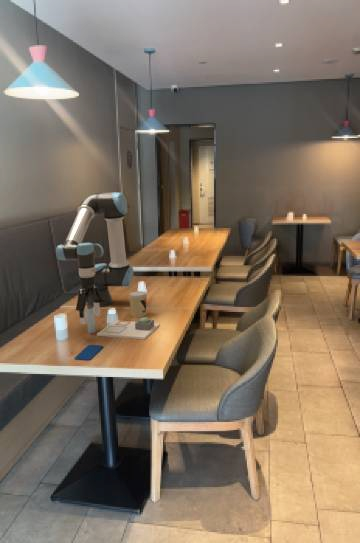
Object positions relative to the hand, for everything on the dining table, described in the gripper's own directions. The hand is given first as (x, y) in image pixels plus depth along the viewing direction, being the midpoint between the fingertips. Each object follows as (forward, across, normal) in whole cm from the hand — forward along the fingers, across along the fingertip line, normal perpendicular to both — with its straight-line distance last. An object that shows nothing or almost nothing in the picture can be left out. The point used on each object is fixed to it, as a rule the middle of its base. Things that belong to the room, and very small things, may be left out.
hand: (90, 319), depth 214 cm
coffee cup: (+6, +30, -12) cm, 33 cm away
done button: (+3, +9, -24) cm, 26 cm away
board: (+6, +6, -17) cm, 19 cm away
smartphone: (+7, -24, -12) cm, 27 cm away
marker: (+6, 0, 0) cm, 6 cm away
